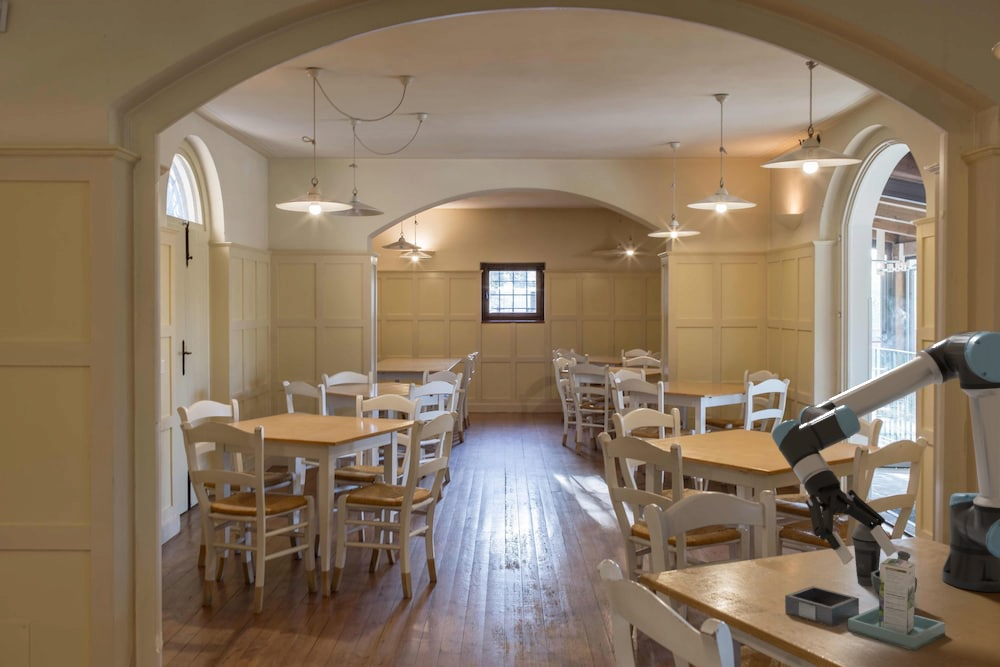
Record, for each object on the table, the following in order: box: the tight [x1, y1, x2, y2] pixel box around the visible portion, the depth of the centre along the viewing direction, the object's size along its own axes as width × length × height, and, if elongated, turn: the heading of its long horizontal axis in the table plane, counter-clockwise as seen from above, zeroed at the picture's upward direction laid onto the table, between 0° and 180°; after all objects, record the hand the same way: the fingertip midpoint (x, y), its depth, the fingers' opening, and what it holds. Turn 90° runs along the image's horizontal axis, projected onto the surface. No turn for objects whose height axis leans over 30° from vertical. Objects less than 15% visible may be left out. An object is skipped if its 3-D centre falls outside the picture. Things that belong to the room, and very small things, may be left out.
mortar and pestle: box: [871, 550, 918, 596], centre depth 193 cm, size 11×9×12 cm
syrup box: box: [878, 557, 916, 635], centre depth 175 cm, size 6×6×14 cm
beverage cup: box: [851, 522, 882, 587], centre depth 209 cm, size 7×7×20 cm
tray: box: [847, 605, 946, 652], centre depth 175 cm, size 14×14×2 cm
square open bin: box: [784, 585, 860, 628], centre depth 186 cm, size 12×11×4 cm
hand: (871, 557), depth 180 cm, fingers open, 13 cm apart
